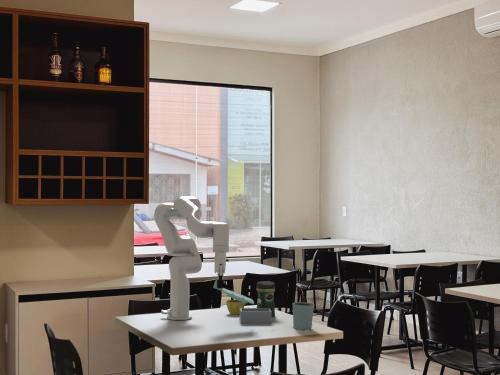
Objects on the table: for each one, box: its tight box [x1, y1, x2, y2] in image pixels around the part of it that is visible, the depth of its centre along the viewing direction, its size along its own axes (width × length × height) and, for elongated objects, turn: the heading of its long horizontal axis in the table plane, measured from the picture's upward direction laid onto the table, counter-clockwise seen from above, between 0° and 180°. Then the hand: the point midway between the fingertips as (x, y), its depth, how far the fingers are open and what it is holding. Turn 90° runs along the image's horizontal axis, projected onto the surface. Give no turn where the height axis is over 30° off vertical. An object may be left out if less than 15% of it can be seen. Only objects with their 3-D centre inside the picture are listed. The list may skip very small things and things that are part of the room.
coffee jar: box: [255, 280, 276, 318], centre depth 360 cm, size 10×8×19 cm
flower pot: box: [225, 299, 246, 316], centre depth 366 cm, size 10×10×7 cm
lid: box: [213, 278, 255, 305], centre depth 330 cm, size 20×11×5 cm, turn 94°
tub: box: [239, 307, 273, 325], centre depth 343 cm, size 15×10×6 cm, turn 94°
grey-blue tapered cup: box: [292, 301, 315, 332], centre depth 330 cm, size 10×10×12 cm
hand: (220, 287), depth 330 cm, fingers closed on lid, 2 cm apart
